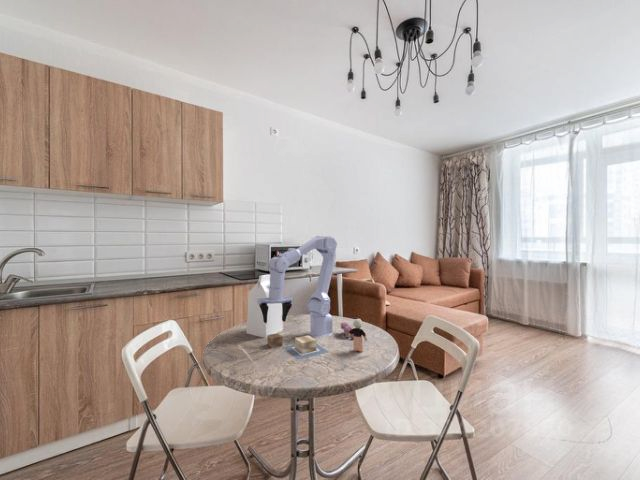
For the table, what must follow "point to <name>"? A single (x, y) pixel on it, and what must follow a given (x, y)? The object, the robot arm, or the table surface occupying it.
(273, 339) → the walnut cube
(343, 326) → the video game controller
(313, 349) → the maple block
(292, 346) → the board
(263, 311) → the robot arm
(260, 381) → the table surface
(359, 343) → the grandmother figurine
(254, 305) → the milk
